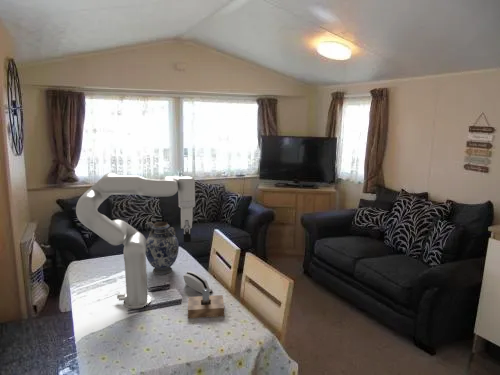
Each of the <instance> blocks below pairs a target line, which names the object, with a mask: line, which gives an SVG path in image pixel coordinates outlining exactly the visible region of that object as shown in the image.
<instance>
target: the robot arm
mask: <svg viewBox="0 0 500 375" xmlns="http://www.w3.org/2000/svg"><path fill="white" fill-rule="evenodd" d="M195 184H196V182H195V178H194V177H193V176H173V175H167V176H164V177H163V178H162V179H151V178H145V177H143V176H140V175H125V174H124V175H123V174H122V175H120V174H117V173H114V172H108V173H106V174H104V175H103V176H102V177H101V178H100V179H99V180H98V181H97V182H96V183H94V184H93V185H92V186H91V187H89V188H88V189H87V190H86V191H85V192H84V193H83V194H82V195H81V196H80V197H79V198H78V200H77V203H76V207H75V214H76V217H77V219H78V221H79V222H80V223H81V224H82V225H83V226H85V227H86V228H87V229H89V230H90V231H92V232H93V233H94V234H96V235H97V236H99V237H100V238H101V239H103V240H104V241H105V242H107V243H108V244H110V245H112V246H119V245H121V244H122V245H123V246H124V247H123V253H122V254H123V262H124V274H125V291H126V292H125V293H124V294H122V293H121V294H117V295H116V298H117V300H118V301H119V302H121V301H123V306H124V307H125V308H127V309H131V310H132V309H134V310H135V309H142V308H144V306H145V307H147V306H148V305H147V304H149V303H150V304H151V302H152V297H151V296H150V295H148V294H149V293H148V278H147V276H148V273H147V257H146V239H147V238H146V237H145V235H144V234H143V233H141V232H140V231H139V230H138V229H136V228H135V227H133V226H132V225H130V224H129V223H128V222H127V221H125V220H123V219H113V220H111V218H109V217H108V216H106V215H105V214H102V213H100V212H99V211H98V209H99V207H100V205H102V204H103V202H104V201H105V200H107V199H108V198H109V197H110V196H112V195H115V196H116V195H121V196H122V195H128V196H129V195H130V196H131V195H138V196H145V197H152V198H153V197H157V198H158V197H162V198H163V197H172V196H174V195H176V194H177V195H178V207H179V208H180V229H181V230H182V229H183V243H191V241H192V236H191V235H192V227H193V212H194V211H193V209H194V207H195V206H196V190H195V189H196V185H195ZM150 304H149V305H150ZM146 305H147V306H146Z"/></svg>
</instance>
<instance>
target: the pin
mask: <svg viewBox="0 0 500 375" xmlns="http://www.w3.org/2000/svg"><path fill="white" fill-rule="evenodd" d="M201 294H202V295H201V296H203V305H209V296H210V293H209V289H203V290H202V293H201Z"/></svg>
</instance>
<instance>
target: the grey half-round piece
mask: <svg viewBox="0 0 500 375" xmlns="http://www.w3.org/2000/svg"><path fill="white" fill-rule="evenodd" d="M183 279H184V283H185V285H186V286H188V287H189V288H191V289H192V290H195V291H197V292H199V293H200V294H202V290H203V289H209V294H210V293H214V291H213V289H212V288H211V287H210V286H209V284H208V282H207V280H206V279H205V278H204V277H203V276H201V275H200V274H198V273H197V272H194V271H192V270H191V271H190V270H189V271H187V272H186V273H184V274H183Z"/></svg>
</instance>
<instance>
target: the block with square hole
mask: <svg viewBox="0 0 500 375" xmlns="http://www.w3.org/2000/svg"><path fill="white" fill-rule="evenodd" d="M187 297H188V298H187V300H188V301H187V319H197V318H198V319H200V318H217V317H225V305H224V296H223V294H219V295H209V305H203V296H202V295H201V296H200V295H199V296H198V295H197V296H187Z"/></svg>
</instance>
